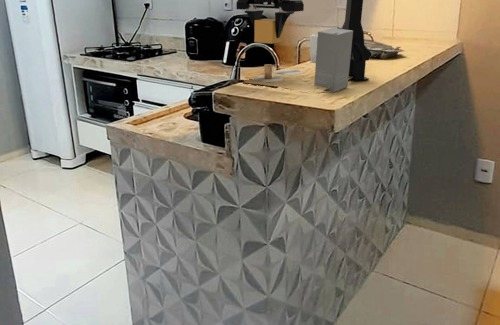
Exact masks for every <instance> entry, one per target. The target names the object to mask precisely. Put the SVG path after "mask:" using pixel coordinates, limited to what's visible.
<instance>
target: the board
mask: <svg viewBox="0 0 500 325" xmlns="http://www.w3.org/2000/svg"><path fill="white" fill-rule="evenodd" d="M303 72H304V71H301V70H298V69H277V70H273V73H274V74H276V75H272V79H264V75H259V76H258V75H257V76H254V77H252V80H253V81H256V82H263V83H264V82H265V83H266V82H267V83H269V82H274V83H275V82H280V81H283V80H284V79H285V78H284V77H282V76H294V75H301V74H303ZM278 75H280V76H278ZM281 75H282V76H281ZM242 84H243V85H248V84H251V85H250V86H256V85H258V86H257V87H263V86H265V87H266V88H271V89H272V88H273V89H278V88H279V86H278V85H270V84H269V85H268V84H262V83H254V82H246V81H242ZM265 87H264V88H265Z"/></svg>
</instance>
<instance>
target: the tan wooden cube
mask: <svg viewBox="0 0 500 325" xmlns="http://www.w3.org/2000/svg"><path fill="white" fill-rule="evenodd" d="M283 35H284V29H283V30H282V32H281V35H280V38H277V37H276V25H275V18H261V19H259V20H255V28H254V39H253V42H254V43H260V44H279V43H283V42H284V41H283V39H284V38H283Z"/></svg>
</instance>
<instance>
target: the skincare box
mask: <svg viewBox="0 0 500 325" xmlns="http://www.w3.org/2000/svg"><path fill="white" fill-rule="evenodd" d="M317 34H318V39H317V54H316V63H315V69H314V70H315V72H314V82H313V83H314V84H313V86H317V87H323V88H326V89H323V90H322V92H328V93H337V92H338V91H341V90H343V89H346V88H348V87H349V86H348V84H349V81H348V79H349V77H350V76H349V67H350V57H351V47H352V37H353V30H345V29H338V27H337V28H336V27H333V28H330V29H329V28H327V29H323V30H319V31H317Z"/></svg>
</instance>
